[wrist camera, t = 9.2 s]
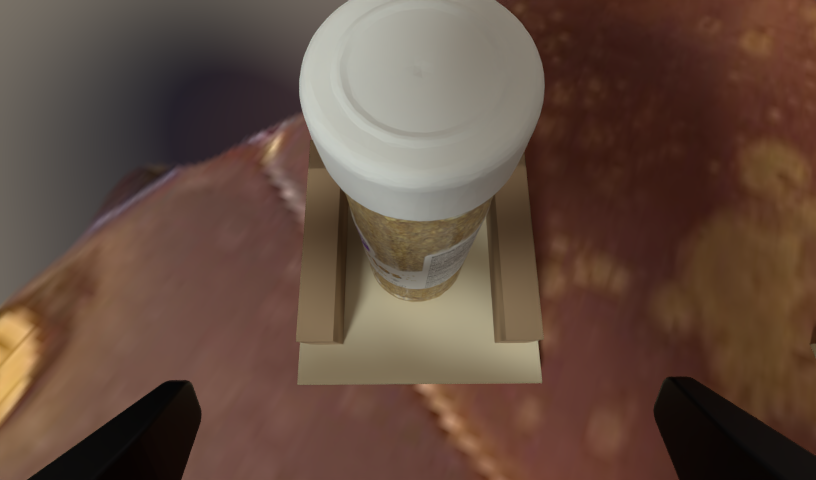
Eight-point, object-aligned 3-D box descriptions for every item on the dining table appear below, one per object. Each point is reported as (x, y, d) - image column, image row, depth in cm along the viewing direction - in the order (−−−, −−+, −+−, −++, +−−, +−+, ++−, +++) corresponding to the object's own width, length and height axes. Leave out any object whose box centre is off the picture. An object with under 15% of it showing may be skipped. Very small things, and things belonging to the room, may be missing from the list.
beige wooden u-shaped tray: (535, 382, 19) (561, 385, 16) (303, 383, 19) (279, 387, 16) (514, 154, 23) (531, 118, 19) (317, 157, 23) (301, 121, 20)
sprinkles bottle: (352, 248, 20) (245, 43, 7) (426, 198, 21) (445, -69, 8) (406, 324, 19) (391, 237, 6) (482, 268, 20) (608, 86, 7)
